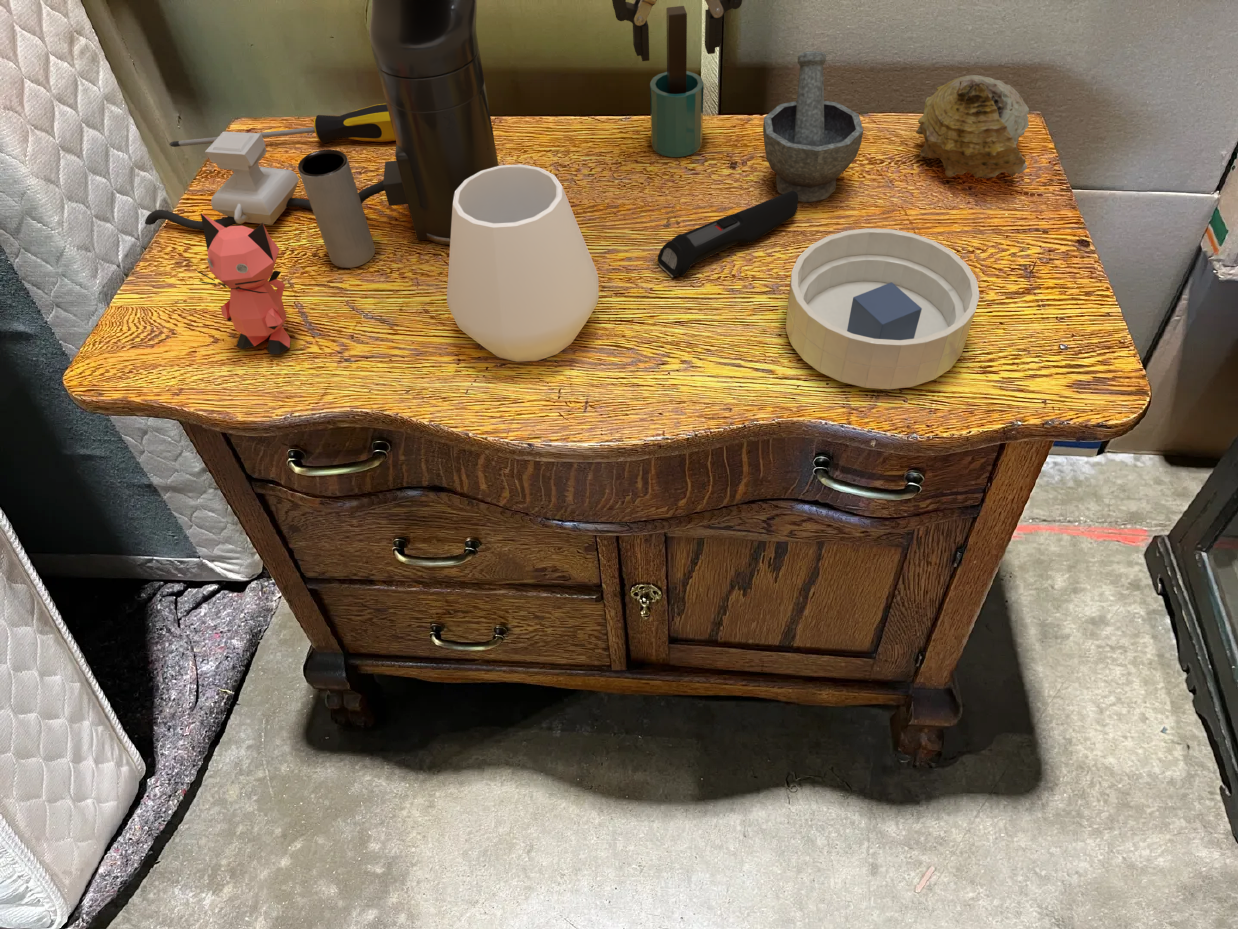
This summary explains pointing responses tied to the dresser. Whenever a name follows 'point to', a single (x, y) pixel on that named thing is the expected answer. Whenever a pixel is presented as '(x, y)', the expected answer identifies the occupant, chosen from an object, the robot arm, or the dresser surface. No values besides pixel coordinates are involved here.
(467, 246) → the cup
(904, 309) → the block
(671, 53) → the stick
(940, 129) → the seashell
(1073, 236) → the dresser surface
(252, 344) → the cat figurine
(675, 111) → the cup
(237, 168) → the stamp
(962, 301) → the bowl
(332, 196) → the grey hollow cylinder
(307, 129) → the screwdriver
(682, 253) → the electric trimmer
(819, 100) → the mortar and pestle
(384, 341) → the dresser surface
